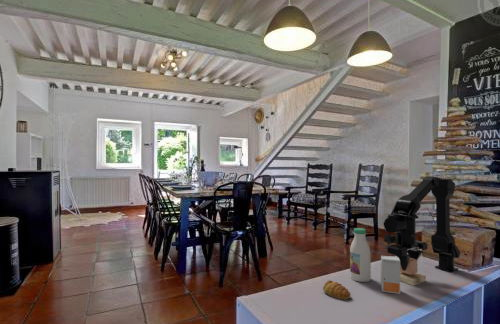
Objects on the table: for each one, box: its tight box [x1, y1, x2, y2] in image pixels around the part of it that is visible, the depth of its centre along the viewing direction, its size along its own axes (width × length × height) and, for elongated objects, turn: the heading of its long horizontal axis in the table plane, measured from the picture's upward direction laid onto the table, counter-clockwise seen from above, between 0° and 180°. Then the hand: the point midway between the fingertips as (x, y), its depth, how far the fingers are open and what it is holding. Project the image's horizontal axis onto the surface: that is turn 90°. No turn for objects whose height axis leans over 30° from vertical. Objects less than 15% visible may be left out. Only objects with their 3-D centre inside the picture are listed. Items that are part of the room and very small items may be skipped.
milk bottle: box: [349, 227, 372, 283], centre depth 112 cm, size 8×8×20 cm
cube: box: [400, 258, 419, 275], centre depth 112 cm, size 5×5×5 cm
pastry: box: [322, 280, 351, 301], centre depth 98 cm, size 9×7×4 cm
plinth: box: [400, 272, 427, 286], centre depth 111 cm, size 9×9×2 cm
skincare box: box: [380, 255, 401, 295], centre depth 101 cm, size 6×4×12 cm
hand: (407, 269), depth 112 cm, fingers closed on cube, 5 cm apart
